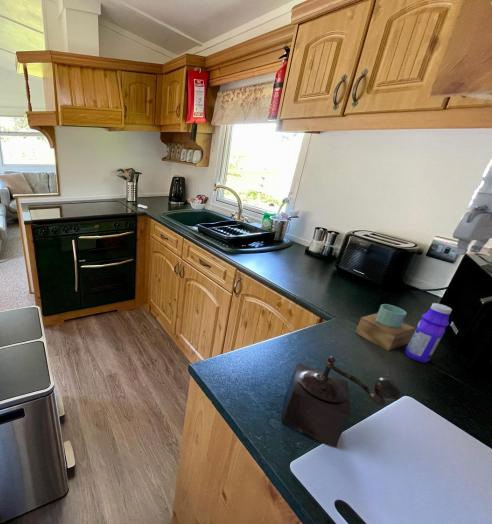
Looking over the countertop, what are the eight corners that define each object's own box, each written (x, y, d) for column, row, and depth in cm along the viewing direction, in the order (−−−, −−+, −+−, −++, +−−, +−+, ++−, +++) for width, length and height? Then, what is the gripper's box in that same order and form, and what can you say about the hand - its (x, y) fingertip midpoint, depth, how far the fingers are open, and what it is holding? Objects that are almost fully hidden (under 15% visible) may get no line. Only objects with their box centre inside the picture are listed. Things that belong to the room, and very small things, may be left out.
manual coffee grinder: (279, 425, 61) (303, 357, 55) (285, 391, 70) (306, 329, 63) (368, 467, 54) (407, 395, 47) (362, 424, 63) (394, 358, 56)
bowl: (404, 326, 92) (411, 312, 90) (393, 330, 89) (399, 316, 87) (382, 315, 97) (388, 302, 95) (370, 319, 94) (376, 305, 93)
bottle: (405, 346, 91) (429, 298, 85) (429, 356, 88) (456, 306, 81) (402, 356, 87) (428, 306, 80) (428, 367, 83) (456, 315, 77)
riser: (407, 343, 93) (415, 328, 91) (388, 350, 89) (395, 334, 87) (374, 326, 102) (380, 312, 99) (355, 332, 97) (361, 317, 95)
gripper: (492, 208, 72) (465, 260, 77) (523, 207, 80) (497, 254, 85) (458, 203, 77) (435, 252, 82) (490, 203, 85) (468, 247, 90)
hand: (467, 253), depth 84 cm, fingers open, 8 cm apart
